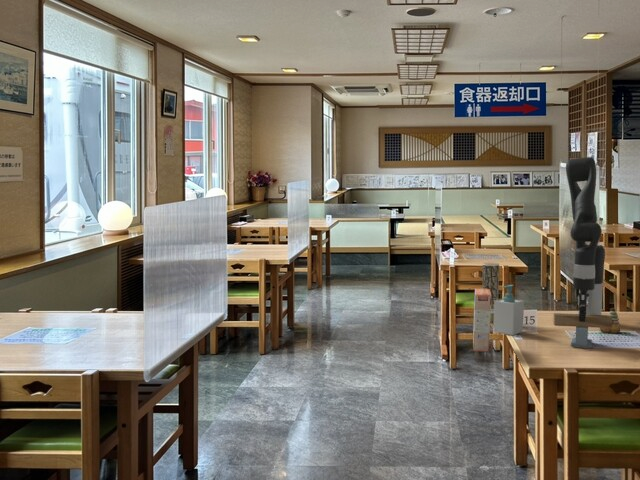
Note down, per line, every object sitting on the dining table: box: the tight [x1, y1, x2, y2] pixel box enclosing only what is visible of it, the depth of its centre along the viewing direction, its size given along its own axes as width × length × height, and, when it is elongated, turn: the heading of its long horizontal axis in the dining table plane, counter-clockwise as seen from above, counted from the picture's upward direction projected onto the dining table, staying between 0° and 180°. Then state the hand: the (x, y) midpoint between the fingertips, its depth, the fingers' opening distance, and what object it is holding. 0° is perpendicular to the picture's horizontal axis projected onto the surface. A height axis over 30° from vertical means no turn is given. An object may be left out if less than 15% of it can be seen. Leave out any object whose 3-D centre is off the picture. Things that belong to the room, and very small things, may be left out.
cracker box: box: [472, 288, 491, 353], centre depth 260 cm, size 14×6×21 cm, turn 168°
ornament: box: [599, 307, 621, 334], centre depth 286 cm, size 8×6×10 cm
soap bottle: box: [493, 284, 525, 336], centre depth 285 cm, size 9×9×19 cm
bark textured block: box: [481, 262, 500, 323], centre depth 305 cm, size 7×7×25 cm
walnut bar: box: [553, 312, 612, 329], centre depth 265 cm, size 4×20×4 cm, turn 78°
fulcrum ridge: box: [570, 327, 593, 349], centre depth 266 cm, size 10×7×7 cm
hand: (582, 319), depth 265 cm, fingers open, 8 cm apart
